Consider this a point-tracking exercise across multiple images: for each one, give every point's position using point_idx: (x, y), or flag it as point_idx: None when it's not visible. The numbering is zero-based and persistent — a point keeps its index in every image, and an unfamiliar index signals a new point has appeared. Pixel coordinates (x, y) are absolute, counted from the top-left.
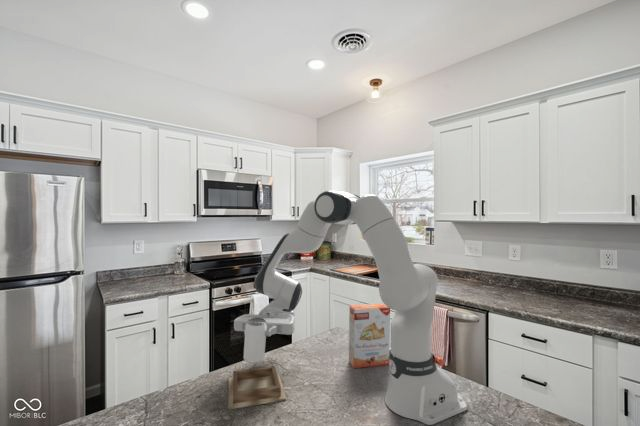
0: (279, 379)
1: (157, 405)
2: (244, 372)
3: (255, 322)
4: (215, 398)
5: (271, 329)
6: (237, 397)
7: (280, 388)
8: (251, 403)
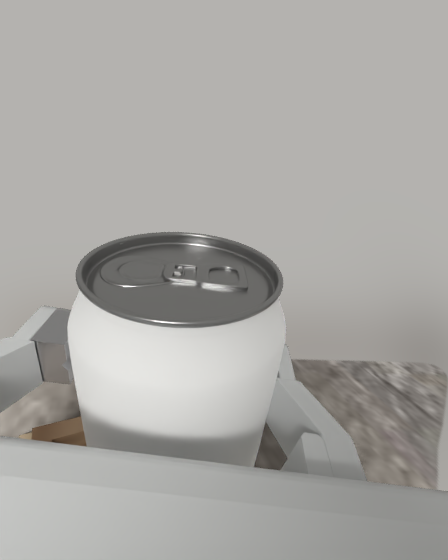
0: None
1: (392, 405)
2: None
3: (194, 272)
4: (274, 440)
5: (12, 341)
6: None
7: (34, 429)
8: None
